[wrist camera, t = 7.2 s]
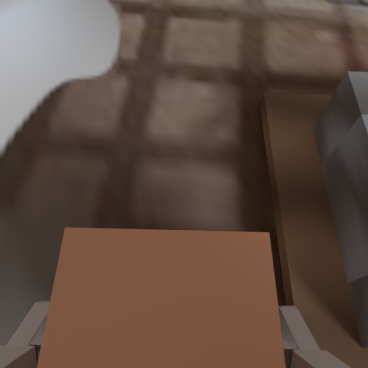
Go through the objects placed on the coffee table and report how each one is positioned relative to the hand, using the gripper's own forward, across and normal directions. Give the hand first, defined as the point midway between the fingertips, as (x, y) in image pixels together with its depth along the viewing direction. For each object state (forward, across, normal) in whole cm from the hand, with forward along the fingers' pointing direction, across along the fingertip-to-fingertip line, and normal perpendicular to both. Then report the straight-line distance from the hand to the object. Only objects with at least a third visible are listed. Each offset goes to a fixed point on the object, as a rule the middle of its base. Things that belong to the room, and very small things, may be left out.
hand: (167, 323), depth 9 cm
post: (+3, 0, +4) cm, 5 cm away
